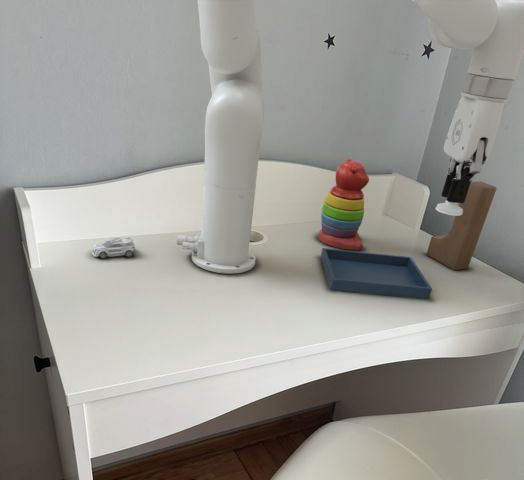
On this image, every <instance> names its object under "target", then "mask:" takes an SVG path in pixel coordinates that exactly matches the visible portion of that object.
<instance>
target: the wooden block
mask: <svg viewBox="0 0 524 480" xmlns="http://www.w3.org/2000/svg"><path fill="white" fill-rule="evenodd" d="M496 192H497V187H496V186H494V185H492V184H489V183H486V182H483V181H472V182H471V183H470V187H469V190H468V193H467V196H466V199H465V202H464V203H458V206H459V207H461V208H462V209H463V212H462V215H460V216H455V217H454V219H453V222H452V226H451V228H450V230H449V232H448V233H447V234H441V235H433V236H431V238H430V240H429V243H428V248H427V250H426V256H429V257H430V258H432V259H434V260H436V261H437V262H439V263H441V264H443V265H445V266H446V267H448V268H450V269H452V270H453V271H458V270H465V269H468V268H469V266H470V264H471V261H472V258H473V255H474V252H475V250H476V247H477V244H478V241H479V239H480V236H481V233H482V231H483V227H484V225H485V222H486V220H487V217H488V214H489V211H490V208H491V206H492V203H493V200H494V197H495V195H496Z"/></svg>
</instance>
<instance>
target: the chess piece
mask: <svg viewBox="0 0 524 480" xmlns="http://www.w3.org/2000/svg"><path fill="white" fill-rule="evenodd" d="M467 162H471V159H469V160H468V161H467ZM458 167H459V165H458V166H457V167H456V170H458ZM465 168H466V166H464V169H465ZM456 174H457V173H456ZM453 179H455V178H453ZM435 210H436V211H437V212H439V213H441V214H444V215H447V216H460V215H462V212H463V209H462V208H461V207H459V203H454V202H448V201H447V200H444V202H439V203H437V204H436V207H435Z"/></svg>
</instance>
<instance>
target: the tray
mask: <svg viewBox="0 0 524 480" xmlns="http://www.w3.org/2000/svg"><path fill="white" fill-rule="evenodd" d="M320 261H321V264H322V267H323V270H324V273H325V277H326V280H327V284H328V287H329V290H330V291H336V292H345V293H355V294H356V293H357V294H368V295H377V296H387V297H388V296H389V297H397V298H408V299H419V300H430V297H431V294H432V292H433V287H432V286H431V284H430V283H429V281H428V280H427V278H426V277H425V275H424V274H423V272H422V271H421V269H420V268H419V267H418V266H417V264H416V262H415V261H414V259H413V258H412V257H411V256H404V255H394V254H384V253H375V252H367V251H354V250H346V249H338V248H337V249H336V248H327V247H322V250H321V256H320Z"/></svg>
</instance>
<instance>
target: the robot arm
mask: <svg viewBox="0 0 524 480" xmlns="http://www.w3.org/2000/svg"><path fill="white" fill-rule="evenodd" d="M410 1H411V2H412V3H414V4H415V6H417V7H418V8H420V10H421V11H422V12H423V13H424V14H425V15H426V16H427V17H428V18H427V19H428V20H427V28H428V29H427V30H428V32H429V35H430V37H431V39H432V40H433V41H434V42H435V44H437V45H440V46H441V47H444V48H448V49H456V50H460V51H461V50H463V51H466V50H467V51H468V50H469V51H470V50H472V49H473V51H472V55H471V58H470V61H469V62H470V63H469V65H468V69H467V72H466V76H465V79H464V81H463V82H464V83H463V85H462V89H461V92H460V96H461V97H460V99H459V102H458V104H457V107H456V109H455V112H454V114H453V117H452V120H451V122H450V123H451V124H450V126H449V129H448V132H447V135H446V138H445V141H444V145H443V151H444V153H445V154H446V155H447V156H448V157H449V164H448V165H449V166H448V168H447V174H446V177H445V180H444V185H443V188H442V191H441V197H442V198H446V201H448V202H454V203H458V204H460V203H464V202H465V199H466V196H467V193H468V190H469V187H470V183H471V182H473V181H474V178H475V175H477V174H480V173H481V171H482V167H483V165H485V164H486V163H488V161H489V159H490V156H491V154H492V150H493V148H494V145H495V141H496V138H497V135H498V131H499V127H500V124H501V121H502V120H501V119H502V115H503V111H504V106H505V103H508V101H509V98H510V96H511V93H512V91H513V87H514V84H515V80H516V77H517V75H518V71H519V69H520V66H521V62H522V60H523V57H524V0H410ZM196 2H197V10H198V20H199V36H200V38H199V39H200V47H201V51H202V54H203V57H204V58H205V60H206V61H207V63H208V74H209V81H210V90H211V98H210V99H209V101H208V104H207V107H206V112H205V117H204V118H205V120H204V163H203V164H204V166H203V186H202V187H203V189H202V205H201V206H202V207H201V225H200V231H199V234H198V235H194V236H188V235H181V234H178V235H177V239H176V240H177V241H176V244H177V246H181V249H182V250H185V251H186V250H187V251H188V250H190V251H192V252H191V260H192V262H193V264H195V265H196V266H197V267H199V268H201V269H203V270H205V271H209V272H213V273H218V274H227V275H228V274H229V275H230V274H232V275H233V274H241V273H245V272H248V271H250V270H252V269H253V268H254V267H255V265H256V256H255V254H254V253H253V252H252V251H250V242H251V234H252V233H251V232H252V225H253V216H254V206H255V198H256V197H255V196H256V189H257V188H256V187H257V176H258V169H259V168H258V167H259V159H260V151H261V141H262V135H263V128H264V118H265V98H264V84H263V68H262V51H261V50H262V49H261V35H260V29H259V26H258V24H257V22H256V20H255V19H256V18H255V10H254V0H196ZM468 160H470V162H467V161H468ZM458 165H459V167H458V170H456V167H457V166H458ZM464 166H466V168H465V169H464ZM456 173H457V174H456ZM453 178H455V179H453Z"/></svg>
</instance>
